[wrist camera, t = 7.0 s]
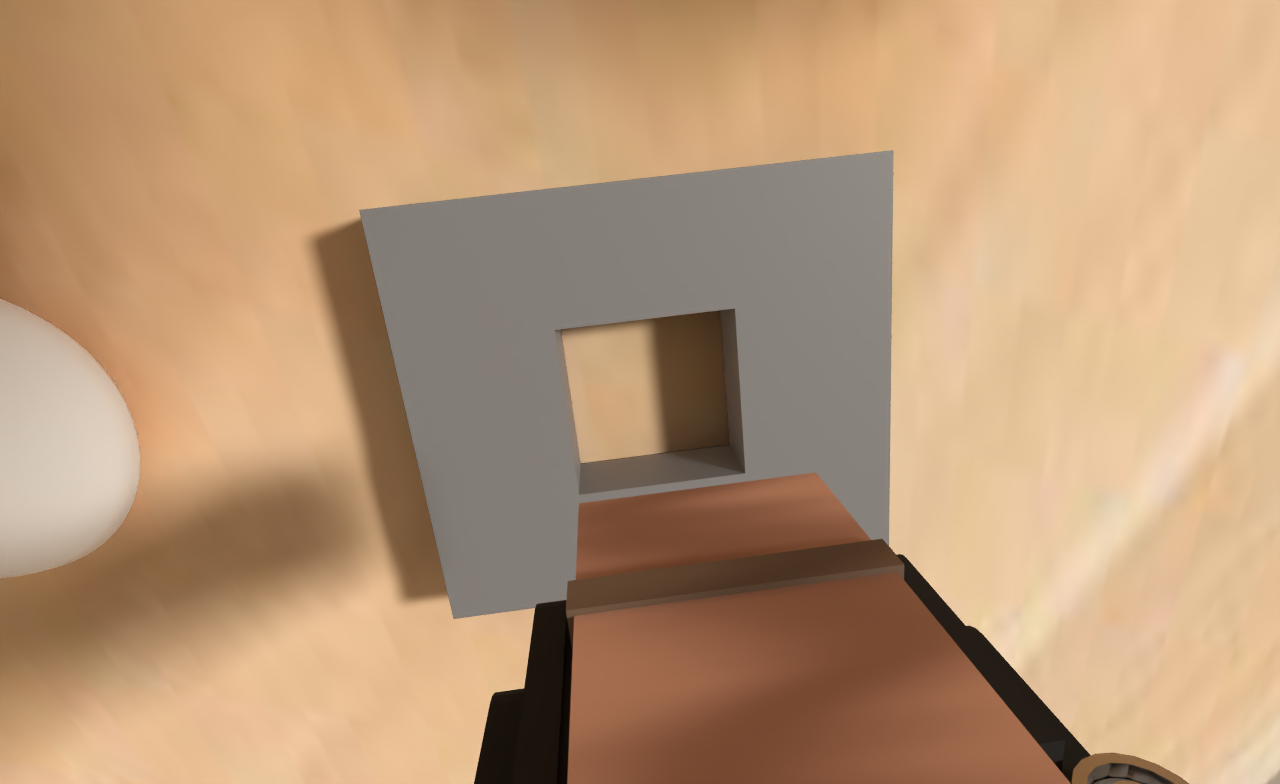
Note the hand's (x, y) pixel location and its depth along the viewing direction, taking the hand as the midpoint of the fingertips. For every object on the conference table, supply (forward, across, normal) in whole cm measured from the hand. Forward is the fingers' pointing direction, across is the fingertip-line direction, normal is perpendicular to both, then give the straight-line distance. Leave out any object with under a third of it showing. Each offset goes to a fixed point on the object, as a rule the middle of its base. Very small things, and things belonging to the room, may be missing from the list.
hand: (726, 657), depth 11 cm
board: (+17, 0, 0) cm, 17 cm away
